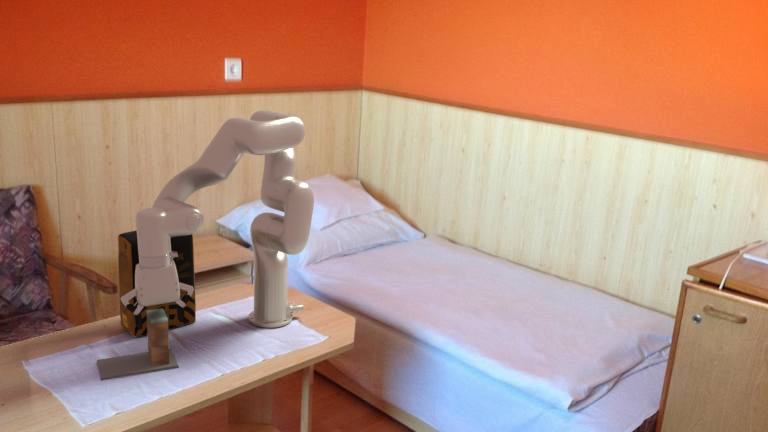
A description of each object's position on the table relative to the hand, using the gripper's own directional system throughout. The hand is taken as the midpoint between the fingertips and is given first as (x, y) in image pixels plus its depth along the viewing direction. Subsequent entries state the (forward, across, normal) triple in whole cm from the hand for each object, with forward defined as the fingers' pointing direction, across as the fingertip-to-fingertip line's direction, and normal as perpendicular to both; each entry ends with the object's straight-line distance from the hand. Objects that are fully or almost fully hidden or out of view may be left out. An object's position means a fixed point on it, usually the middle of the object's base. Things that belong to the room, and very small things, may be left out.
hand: (160, 323), depth 180 cm
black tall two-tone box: (+11, -3, -22) cm, 24 cm away
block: (+9, +1, 0) cm, 9 cm away
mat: (+10, +6, 0) cm, 12 cm away
